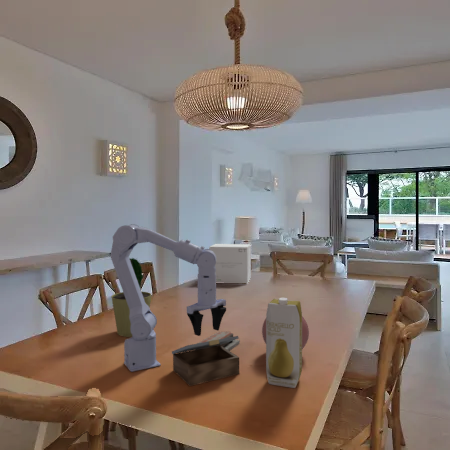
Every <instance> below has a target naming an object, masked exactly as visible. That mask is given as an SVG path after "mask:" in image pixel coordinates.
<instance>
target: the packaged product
mask: <svg viewBox="0 0 450 450" xmlns="http://www.w3.org/2000/svg"><path fill="white" fill-rule="evenodd" d="M229 337H234V333H232V332H231V331H229V330H227V331H218V332H216V333H214V334H211V335H210V336H209V337H206V338H205V339H203V340H200V341H199V342H198V343H203V342H208V341H213V340H218V339H224V338H229ZM240 343H241V341H240V340H239V339H236V340H233V341H230V342H227V343H224V344H221V345H220V346H222V347H224V348H225V349H227V350H229V351H230V352H231V351H232V350H234V348H236V347H237V346H239V345H240ZM211 347H212V346H211ZM206 348H207V347H206ZM201 349H202V348H201ZM196 350H197V349H196Z"/></svg>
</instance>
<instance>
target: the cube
mask: <svg viewBox="0 0 450 450" xmlns="http://www.w3.org/2000/svg"><path fill="white" fill-rule="evenodd" d="M208 249H210V250H211V251H213V252H214V253H215V255H216V264H215V268H216V272H215V273H216V282H224V283H247V284H248V285H249V283H248V282H250V281H251V279H252V244H250V243H249V244H248V243H247V244H246V243H244V244H243V243H214V244H212V245H210V246H209V247H208ZM250 278H251V279H250ZM249 280H250V281H249ZM247 284H246V285H247Z"/></svg>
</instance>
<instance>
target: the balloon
mask: <svg viewBox="0 0 450 450" xmlns="http://www.w3.org/2000/svg"><path fill="white" fill-rule="evenodd" d="M261 328H262V329H261V334H262V338H263V341H264V342H263V343H264V344H266V318H265V319H264V321H263V323H262V327H261ZM309 330H310V329H309V325H308V323H307V320H306V318H305V317H304V315H302V350H303V349H304V348H305V346H306V344H308V341H309V337H310V336H309V334H310V331H309Z"/></svg>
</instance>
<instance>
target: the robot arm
mask: <svg viewBox="0 0 450 450" xmlns="http://www.w3.org/2000/svg"><path fill="white" fill-rule="evenodd" d="M143 243H144V244H145V243H150V244H153V245H155V246H159V247H161V248H163V249H164V248H165V249H167V250H169V251H171V252H172V253H173V254H174V256H175V257H176V258H177V259H180V260H182V261H186V262H187V263H188V264H189V263H190V264H192V265H197V268H198V269H197V271H198V273H197V302H194V304H191V305H188V306H186V315H187V317H188V319H189V321H190V323H191V325H192V329H193V334H194V335H195V336H197V337H200V336H202V323H203V318H204V316H205V315H204V314H202V313H201V312H202V311H207V310H210V311H211V318H212V328H213V329H212V330H213V331H218V332H219V331H220V329H221V328H220V327H221V324H222V323H221V322H222V320H223V317H224V315H225V314H226V311H227V307H226V306H227V300H226V299H225V298H224V299H223V298H219V299H217V284H216V273H215V272H216V268H215V264H216V255H215V253H214V252H213V251H211V250H210V249H209V248H205V246H202V245H201V246H199V245H197V244H194V243H191V240H190V239H187V238H186V239H185V240H184V239H181V240H179V241H176V240H174V239H172V238H170V237H168V236H165V235H164V234H161V233H159V232H157V231H155V230H154V229H153V230H152V229H150V228H148V227H144V226H140V225H137V224H135V223H132V224H129V225H128V224H126V225H121V226H119V227H118V228H117V230H116V231H115V232H114V234H113V236H112V246H111V250H110V260H111V262H112V264H113V268H114V270H115V272H116V276H117V279H118V281H119V285H120V287H121V290H122V292H123V293H124V295H125V298H126V301H127V304H128V307H129V309H130V315H129V319H130V322H131V328H130V330H131V334H132V337H128V338H126V339H125V340H124V345H123V346H124V347H123V348H124V349H123V350H124V355H123V356H124V359H123V360H124V362H123V363H124V365H125V366H126V368H127V369H128V370H129V371H130V372H131V373H132V372H137V371H141V370H146V369H150V368H155V367H160V366H161V363H160V362H159V361H158V360H157V333H156V332H155V327H156V326H157V323H158V322H157V321H158V319H157V317H156V315H155V314H154V313H153V312H152V311H151V308H149V306H148V305H147V304H146V303H145V301H144V298H143V295H142V292H143V291H142V290H141V289H142V288H141V287H139V284H138V281H137V278H136V276H135V273H134V270H133V267H132V264H131V262H130V254H132V252H133V249H134V248H135V247H136V246H137V245H138V244H143ZM140 288H141V289H140ZM141 291H142V292H141Z"/></svg>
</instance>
